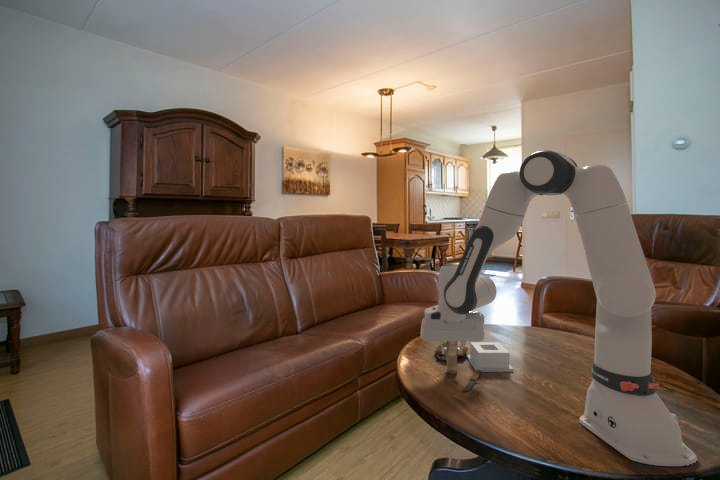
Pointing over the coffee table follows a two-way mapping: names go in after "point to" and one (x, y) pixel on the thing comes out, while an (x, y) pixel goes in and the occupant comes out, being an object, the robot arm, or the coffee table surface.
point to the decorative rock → (444, 356)
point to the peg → (452, 357)
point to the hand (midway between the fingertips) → (451, 353)
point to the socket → (489, 357)
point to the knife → (472, 380)
